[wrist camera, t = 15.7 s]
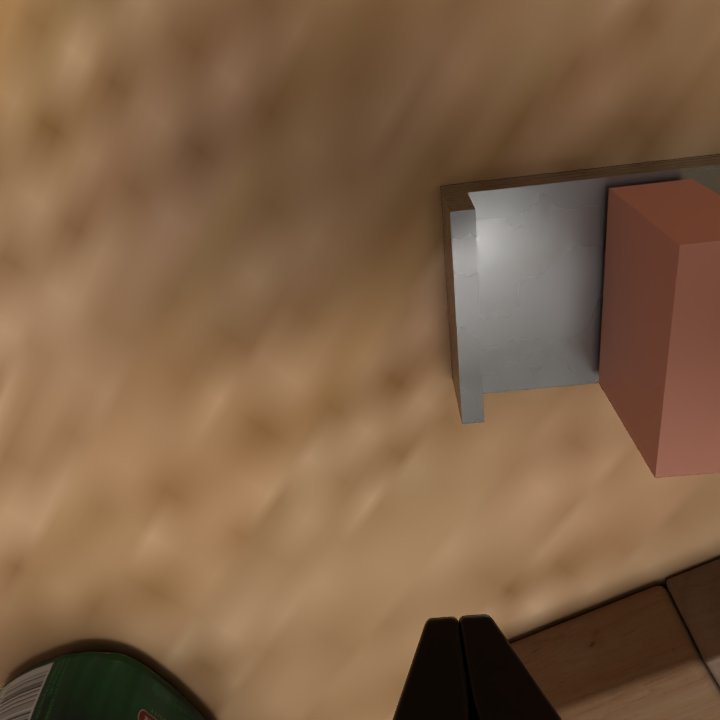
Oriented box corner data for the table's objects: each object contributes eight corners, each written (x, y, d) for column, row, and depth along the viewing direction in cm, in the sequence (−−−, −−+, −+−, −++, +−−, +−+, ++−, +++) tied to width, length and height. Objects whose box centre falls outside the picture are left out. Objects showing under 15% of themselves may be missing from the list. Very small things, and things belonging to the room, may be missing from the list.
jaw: (691, 179, 17) (788, 233, 13) (669, 375, 19) (744, 470, 15) (608, 188, 17) (679, 244, 13) (598, 382, 19) (655, 477, 16)
